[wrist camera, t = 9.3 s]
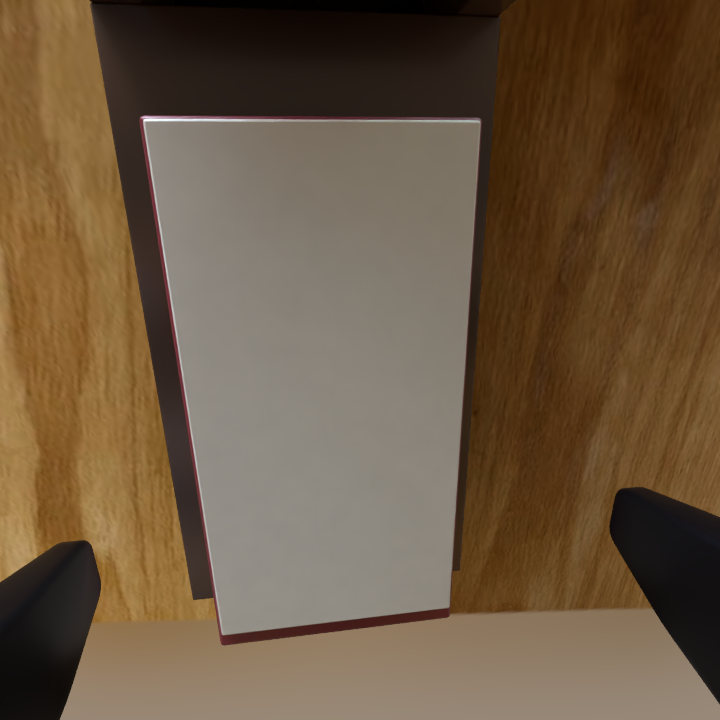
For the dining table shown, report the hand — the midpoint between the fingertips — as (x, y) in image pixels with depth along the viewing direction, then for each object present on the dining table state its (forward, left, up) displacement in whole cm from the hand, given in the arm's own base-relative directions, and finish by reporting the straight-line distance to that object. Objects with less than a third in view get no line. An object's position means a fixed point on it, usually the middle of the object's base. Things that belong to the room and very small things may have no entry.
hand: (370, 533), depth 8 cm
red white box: (+1, 0, -7) cm, 7 cm away
